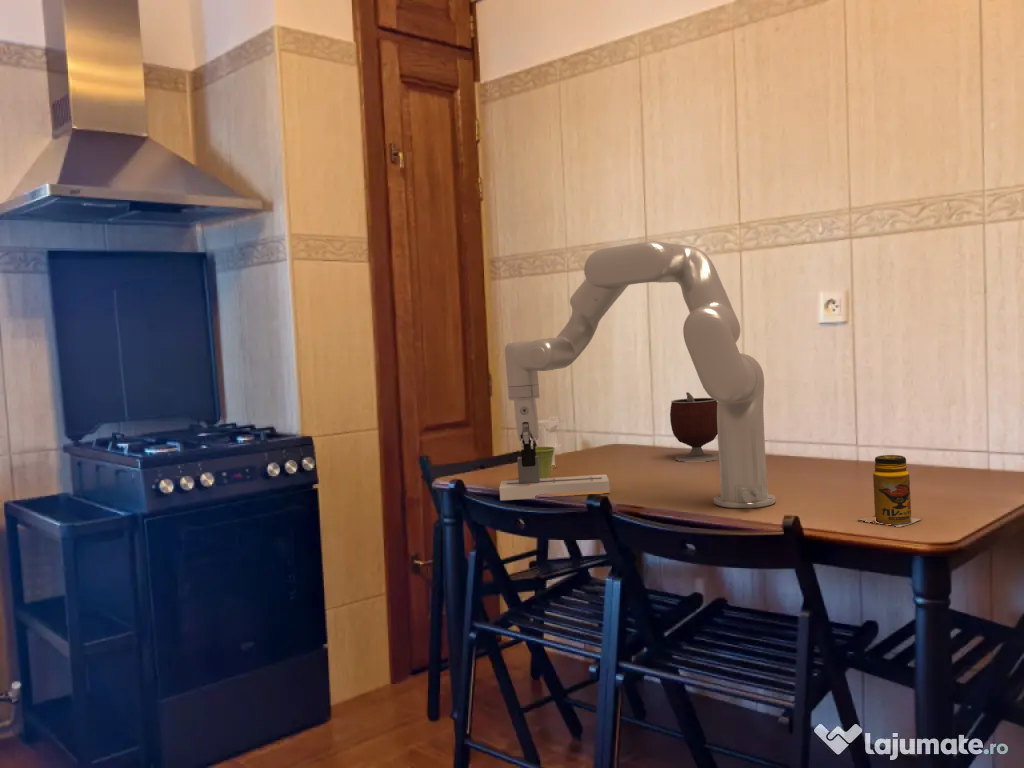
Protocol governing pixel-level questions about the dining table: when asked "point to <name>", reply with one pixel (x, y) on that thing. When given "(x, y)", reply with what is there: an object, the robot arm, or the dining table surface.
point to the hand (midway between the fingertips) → (529, 463)
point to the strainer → (549, 435)
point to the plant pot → (544, 460)
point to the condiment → (892, 491)
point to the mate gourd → (694, 425)
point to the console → (552, 486)
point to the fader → (528, 472)
